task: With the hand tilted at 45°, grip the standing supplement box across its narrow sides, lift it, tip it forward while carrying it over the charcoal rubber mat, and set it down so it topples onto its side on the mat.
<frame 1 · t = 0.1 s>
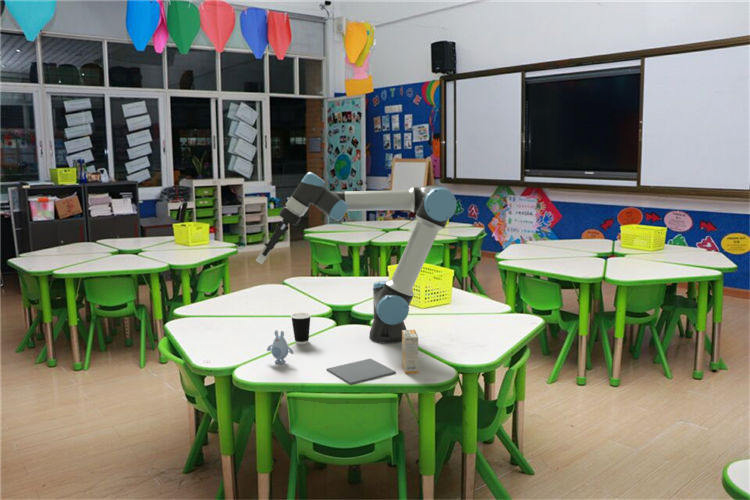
hand: (260, 259, 236), 36 cm above the table, tool tilted 35°, fingers open, 13 cm apart
toy figure: (280, 363, 232), on the table
dixie cup: (301, 342, 255), on the table
mat: (360, 371, 222), on the table
supplement box: (410, 370, 224), on the table
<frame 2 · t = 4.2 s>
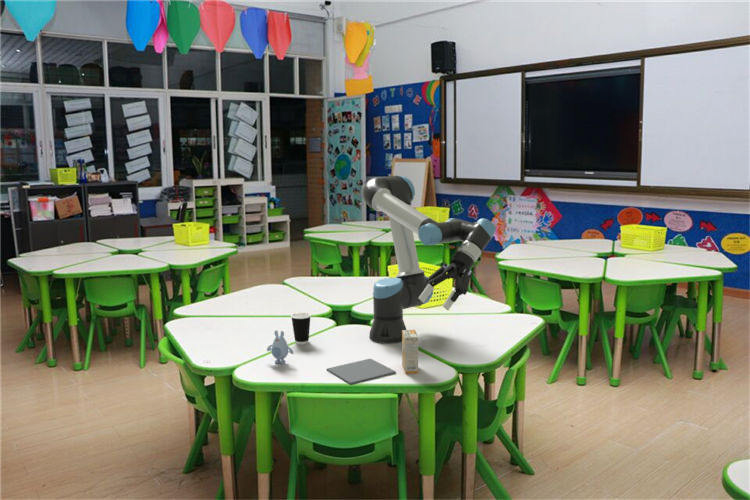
hand: (432, 304, 225), 22 cm above the table, tool tilted 45°, fingers open, 13 cm apart
nothing on the table moved.
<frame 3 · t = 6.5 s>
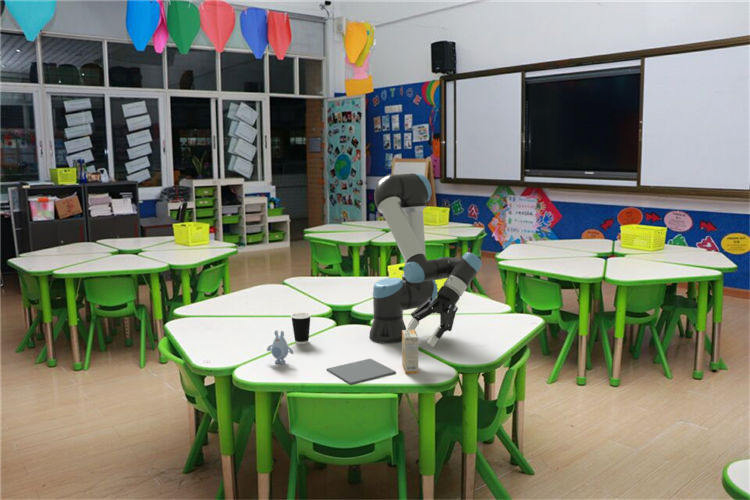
hand: (417, 340, 223), 10 cm above the table, tool tilted 45°, fingers open, 13 cm apart
nothing on the table moved.
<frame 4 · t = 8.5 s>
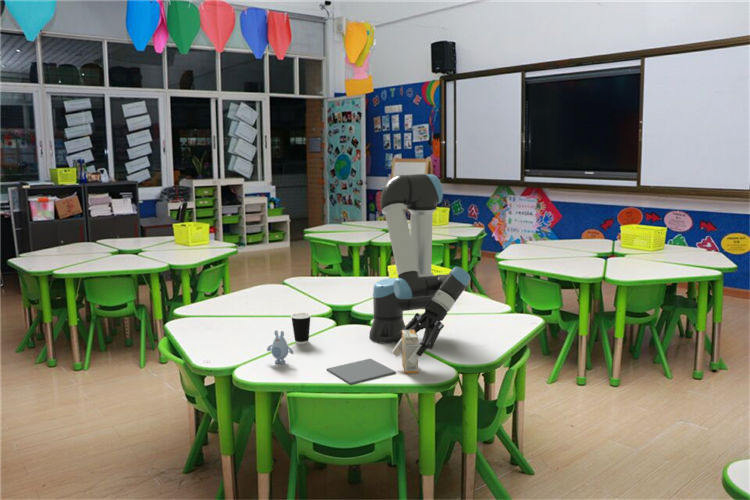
hand: (402, 358, 221), 5 cm above the table, tool tilted 45°, fingers closed on supplement box, 9 cm apart
supplement box: (410, 370, 224), on the table, touching gripper
everything else where it was.
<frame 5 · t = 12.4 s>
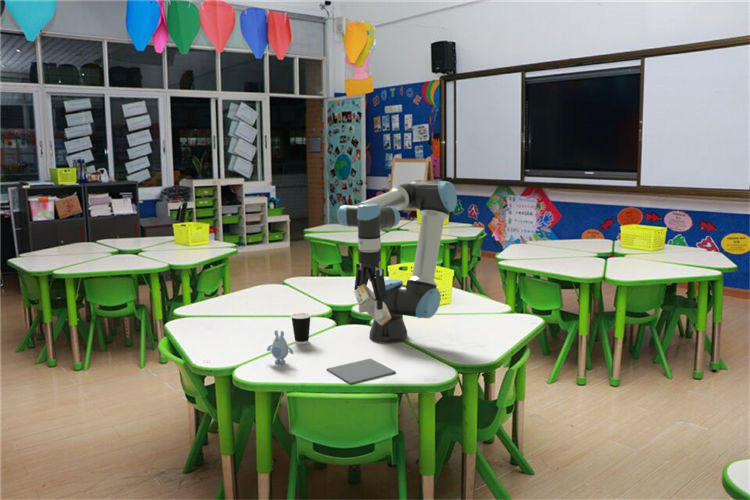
hand: (370, 315, 221), 19 cm above the table, tool pointing down, fingers closed on supplement box, 9 cm apart
supplement box: (384, 316, 224), point 18 cm above the table, touching gripper
everything else where it was.
when the fingers open (6 cm above the table, at t = 15.4 s): supplement box drops 2 cm, resting on mat.
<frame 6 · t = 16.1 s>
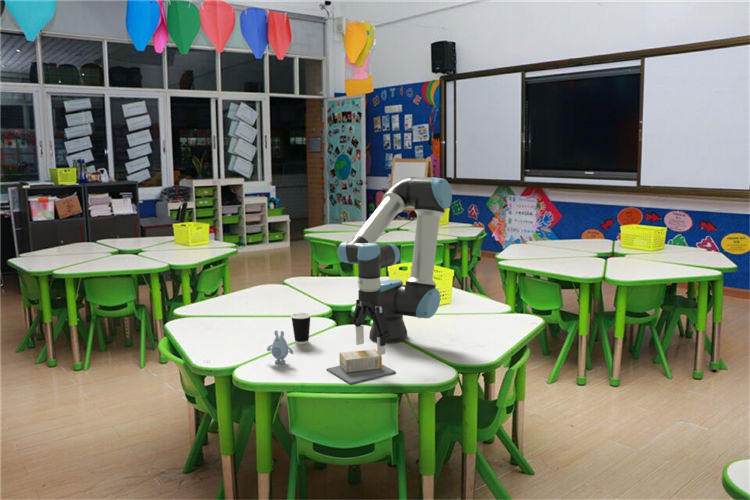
hand: (370, 349, 223), 7 cm above the table, tool pointing down, fingers open, 13 cm apart
supplement box: (379, 358, 226), point 3 cm above the table, touching mat
everything else where it was.
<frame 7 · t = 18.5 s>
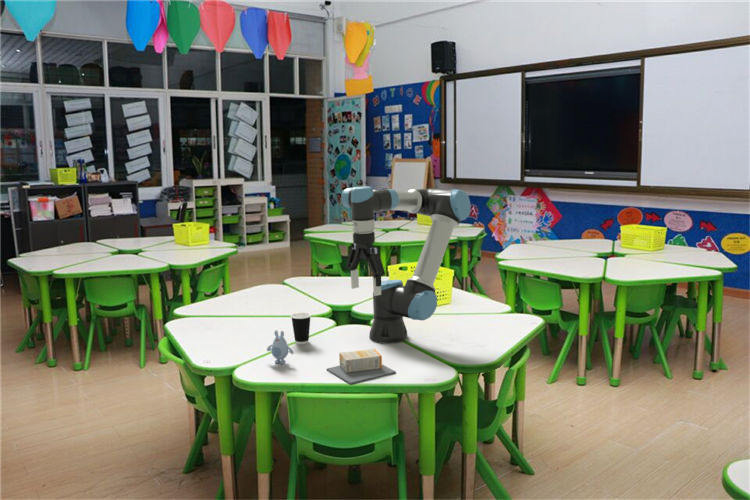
hand: (366, 291, 227), 26 cm above the table, tool pointing down, fingers open, 13 cm apart
nothing on the table moved.
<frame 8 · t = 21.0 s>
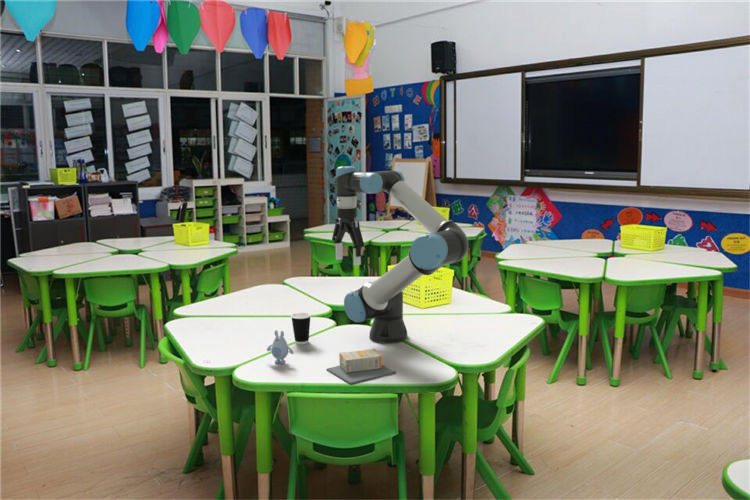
hand: (348, 262, 250), 32 cm above the table, tool pointing down, fingers open, 13 cm apart
nothing on the table moved.
at the end: supplement box tilted 90°; supplement box inside the target area on the mat (7.8 cm from its centre), point 3.0 cm above the mat's base; the gripper is holding nothing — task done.
